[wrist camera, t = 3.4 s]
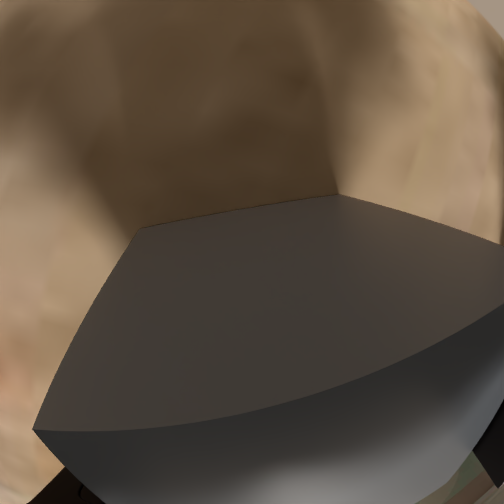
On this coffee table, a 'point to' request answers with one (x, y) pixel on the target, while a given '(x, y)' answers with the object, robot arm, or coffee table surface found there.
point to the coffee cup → (467, 487)
